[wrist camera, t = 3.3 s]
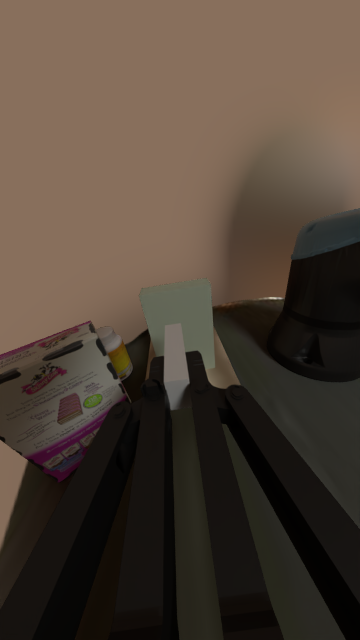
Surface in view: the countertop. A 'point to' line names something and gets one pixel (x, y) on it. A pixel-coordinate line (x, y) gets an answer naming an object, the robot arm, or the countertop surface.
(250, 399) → the robot arm
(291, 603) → the countertop surface
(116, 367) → the supplement bottle
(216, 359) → the board
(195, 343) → the pale green rectangular block
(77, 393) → the candy bar box
